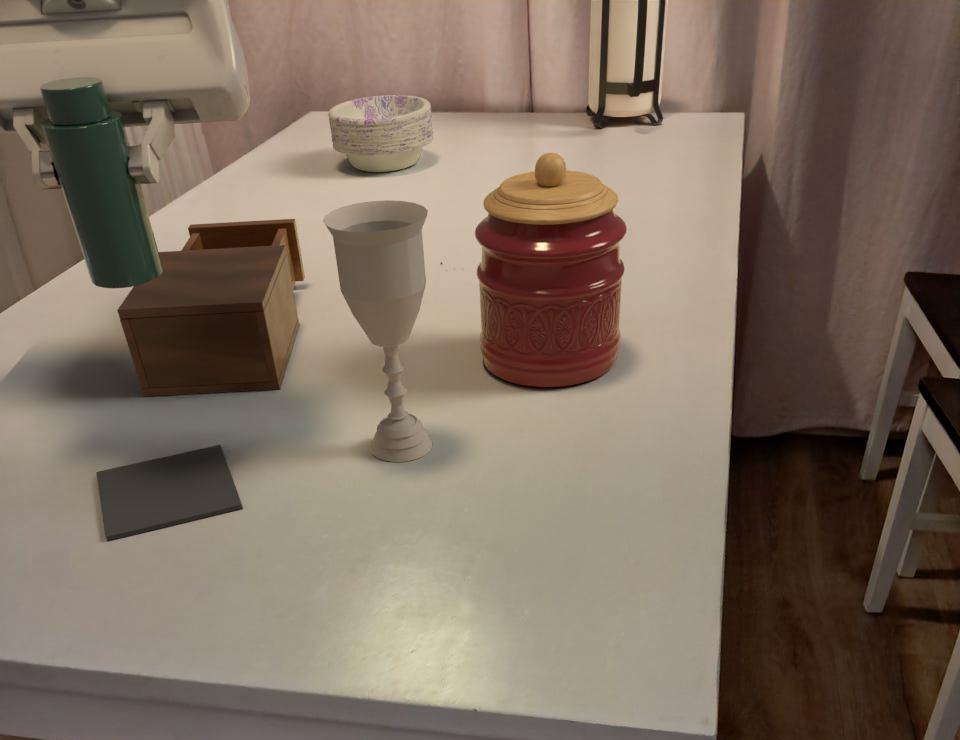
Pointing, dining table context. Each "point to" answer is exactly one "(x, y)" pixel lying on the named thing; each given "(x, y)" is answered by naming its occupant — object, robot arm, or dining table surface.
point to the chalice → (385, 301)
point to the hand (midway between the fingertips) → (97, 182)
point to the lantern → (626, 59)
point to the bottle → (99, 183)
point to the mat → (166, 492)
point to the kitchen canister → (550, 277)
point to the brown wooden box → (213, 322)
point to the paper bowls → (381, 131)
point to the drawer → (250, 239)
